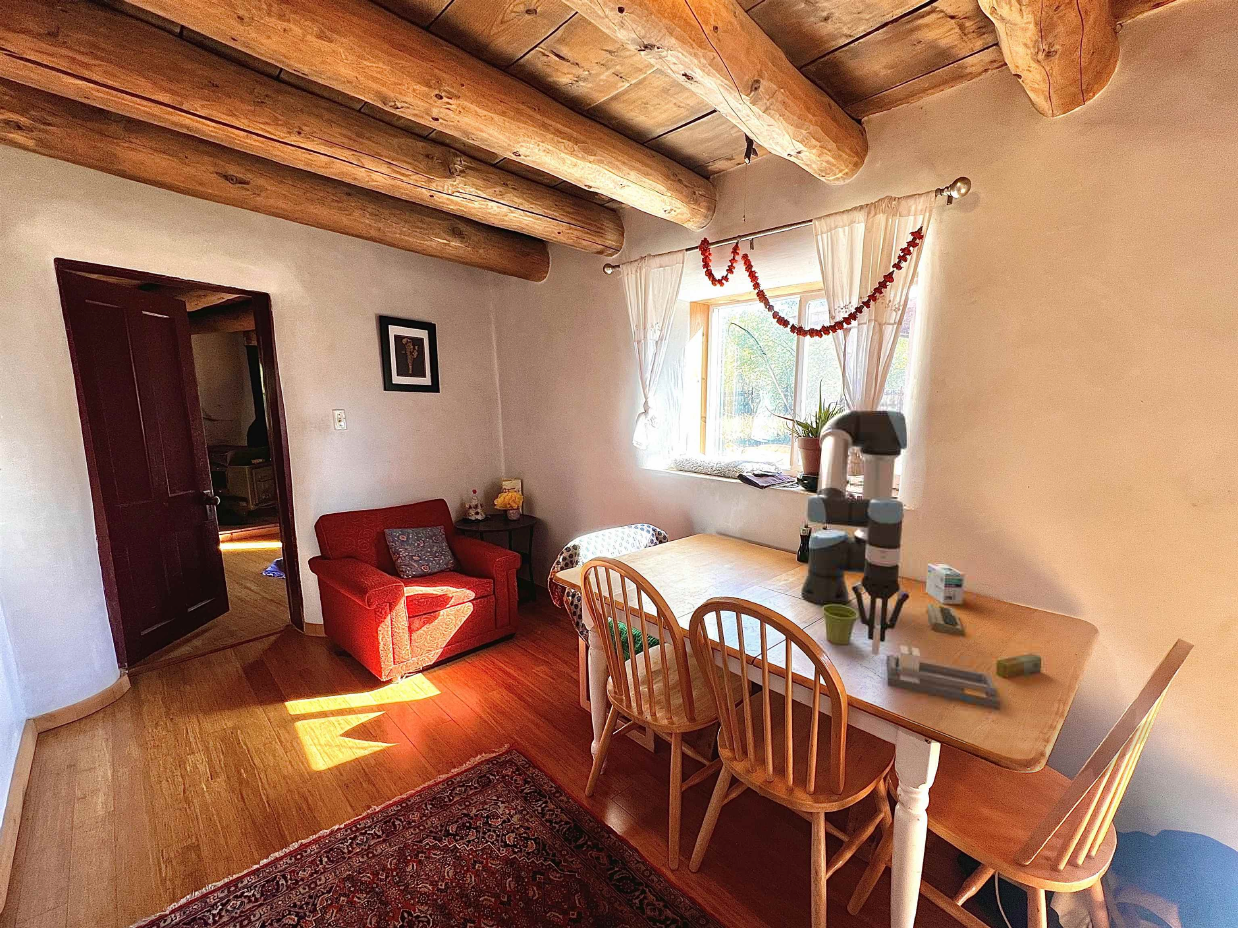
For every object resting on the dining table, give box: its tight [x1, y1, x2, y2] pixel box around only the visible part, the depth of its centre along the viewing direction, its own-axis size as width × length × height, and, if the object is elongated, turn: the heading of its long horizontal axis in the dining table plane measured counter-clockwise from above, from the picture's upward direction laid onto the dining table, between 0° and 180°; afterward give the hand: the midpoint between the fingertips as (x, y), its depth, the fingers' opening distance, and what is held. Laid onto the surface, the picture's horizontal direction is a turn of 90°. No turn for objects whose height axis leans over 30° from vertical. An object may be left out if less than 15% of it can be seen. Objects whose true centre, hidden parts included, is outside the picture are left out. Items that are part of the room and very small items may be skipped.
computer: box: [926, 603, 964, 636], centre depth 158 cm, size 16×8×3 cm, turn 154°
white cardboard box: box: [898, 645, 921, 671], centre depth 126 cm, size 4×4×5 cm
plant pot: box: [822, 605, 859, 646], centre depth 146 cm, size 9×9×9 cm
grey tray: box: [885, 654, 1001, 711], centre depth 124 cm, size 22×12×4 cm, turn 64°
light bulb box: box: [925, 563, 966, 605], centre depth 177 cm, size 11×7×11 cm, turn 179°
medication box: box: [995, 653, 1042, 680], centre depth 129 cm, size 12×3×4 cm, turn 106°
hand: (875, 652), depth 129 cm, fingers closed
